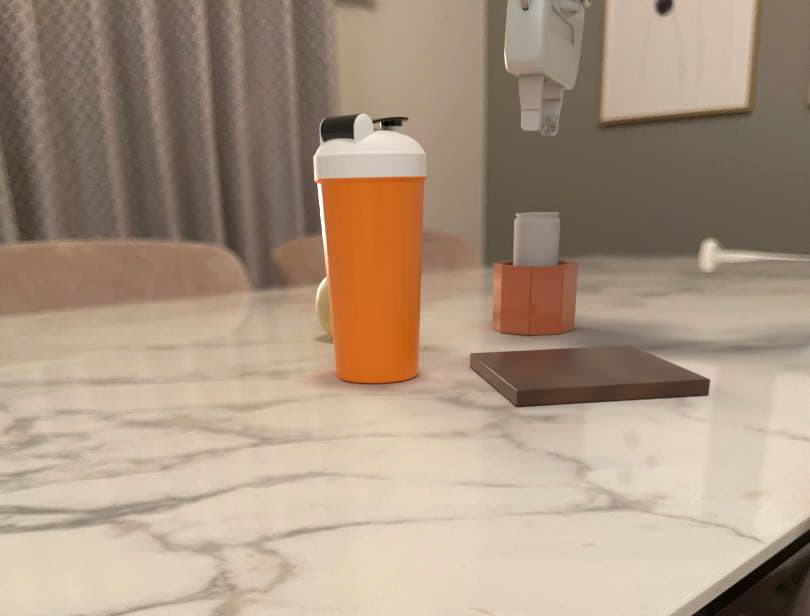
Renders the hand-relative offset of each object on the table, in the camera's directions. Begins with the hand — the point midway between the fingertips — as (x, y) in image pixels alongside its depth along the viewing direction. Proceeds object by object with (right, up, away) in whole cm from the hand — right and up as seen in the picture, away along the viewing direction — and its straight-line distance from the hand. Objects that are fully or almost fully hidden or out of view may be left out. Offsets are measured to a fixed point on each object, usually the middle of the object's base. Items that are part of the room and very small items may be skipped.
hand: (540, 133), depth 86 cm
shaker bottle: (-16, -27, -13) cm, 35 cm away
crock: (0, -18, +8) cm, 20 cm away
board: (+1, -28, -17) cm, 33 cm away
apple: (-19, -20, +5) cm, 28 cm away
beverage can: (0, -18, +8) cm, 20 cm away
